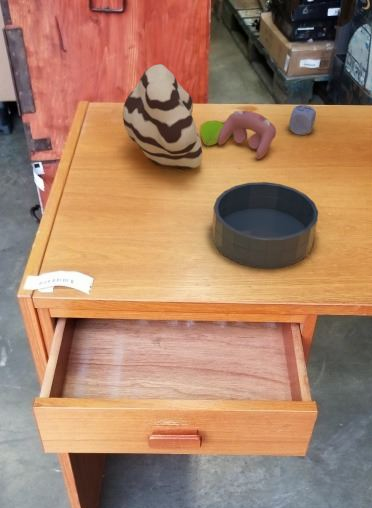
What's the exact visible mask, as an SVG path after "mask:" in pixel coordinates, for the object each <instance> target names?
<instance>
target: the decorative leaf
mask: <svg viewBox="0 0 372 508" xmlns="http://www.w3.org/2000/svg"><path fill="white" fill-rule="evenodd" d="M224 124H225V122H222V121H219V120H208V121H205V122H203V123H202V124H201V125H200V137H201V138H200V139H201V140H202V143H203V145H205V146H206V147H207V146H208V147H210V146H213V145H215V144H218V141H217V139H218V135H219V132H220V131H221V129H222V127H223V125H224ZM231 136H234V133H232V134H231V135H230V137H231Z"/></svg>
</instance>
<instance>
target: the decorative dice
mask: <svg viewBox="0 0 372 508" xmlns="http://www.w3.org/2000/svg"><path fill="white" fill-rule="evenodd" d="M316 117H317V112H316V110H315V108H313V107H312V106H310V105H307V104H300V105H296V106H294V107H293V109H292V112H291V114H290V118H289V123H288V125H289V130H290V132H292V133H293V134H296V135H299V136H306V135H309V134H311V132H312V131H313V128H314V125H315V122H316Z"/></svg>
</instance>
